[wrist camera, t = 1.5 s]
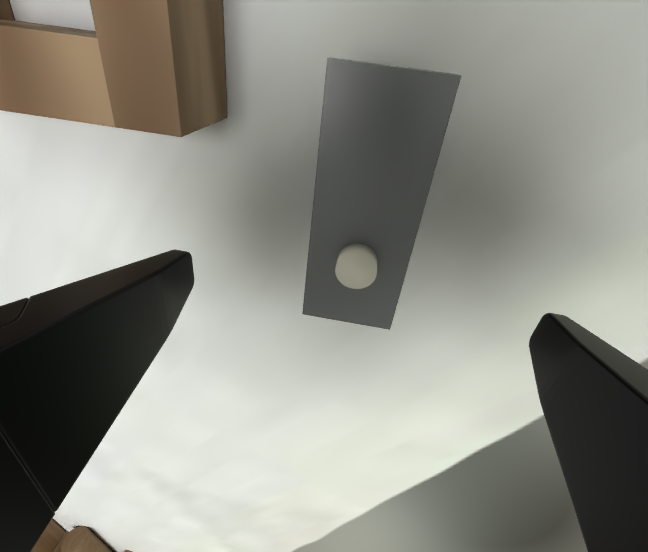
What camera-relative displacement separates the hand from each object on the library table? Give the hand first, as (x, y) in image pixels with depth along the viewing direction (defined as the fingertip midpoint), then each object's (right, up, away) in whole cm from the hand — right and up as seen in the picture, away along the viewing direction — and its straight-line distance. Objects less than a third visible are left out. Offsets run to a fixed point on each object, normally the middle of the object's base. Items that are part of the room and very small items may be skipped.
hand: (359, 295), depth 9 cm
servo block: (+1, +5, +8) cm, 10 cm away
